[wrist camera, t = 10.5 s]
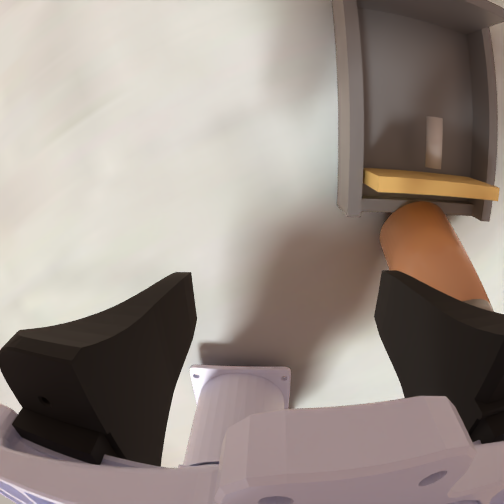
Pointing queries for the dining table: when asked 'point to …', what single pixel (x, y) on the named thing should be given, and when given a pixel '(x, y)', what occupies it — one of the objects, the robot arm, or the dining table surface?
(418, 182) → the tan pusher block
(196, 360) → the dining table surface
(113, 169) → the dining table surface
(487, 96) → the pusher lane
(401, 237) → the jar
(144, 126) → the dining table surface
